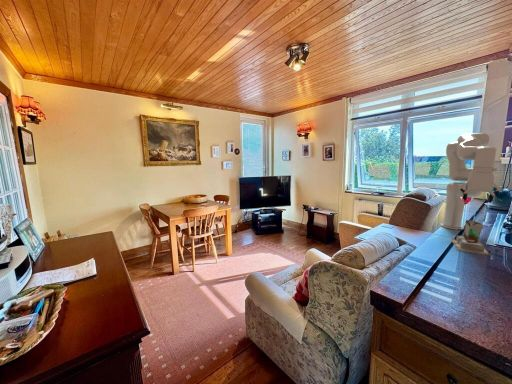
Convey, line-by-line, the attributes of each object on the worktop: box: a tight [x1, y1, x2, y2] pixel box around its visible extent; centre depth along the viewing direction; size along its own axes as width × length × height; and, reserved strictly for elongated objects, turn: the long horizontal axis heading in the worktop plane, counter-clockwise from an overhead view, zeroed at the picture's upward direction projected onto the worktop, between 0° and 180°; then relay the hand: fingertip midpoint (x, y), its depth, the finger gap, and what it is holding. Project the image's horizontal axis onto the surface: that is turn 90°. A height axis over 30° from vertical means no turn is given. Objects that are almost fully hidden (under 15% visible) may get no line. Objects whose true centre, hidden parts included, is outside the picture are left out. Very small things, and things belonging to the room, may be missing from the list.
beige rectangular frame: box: [451, 234, 490, 256], centre depth 121 cm, size 16×12×4 cm
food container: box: [463, 219, 484, 243], centre depth 120 cm, size 12×6×10 cm, turn 145°
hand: (476, 201), depth 122 cm, fingers open, 9 cm apart
